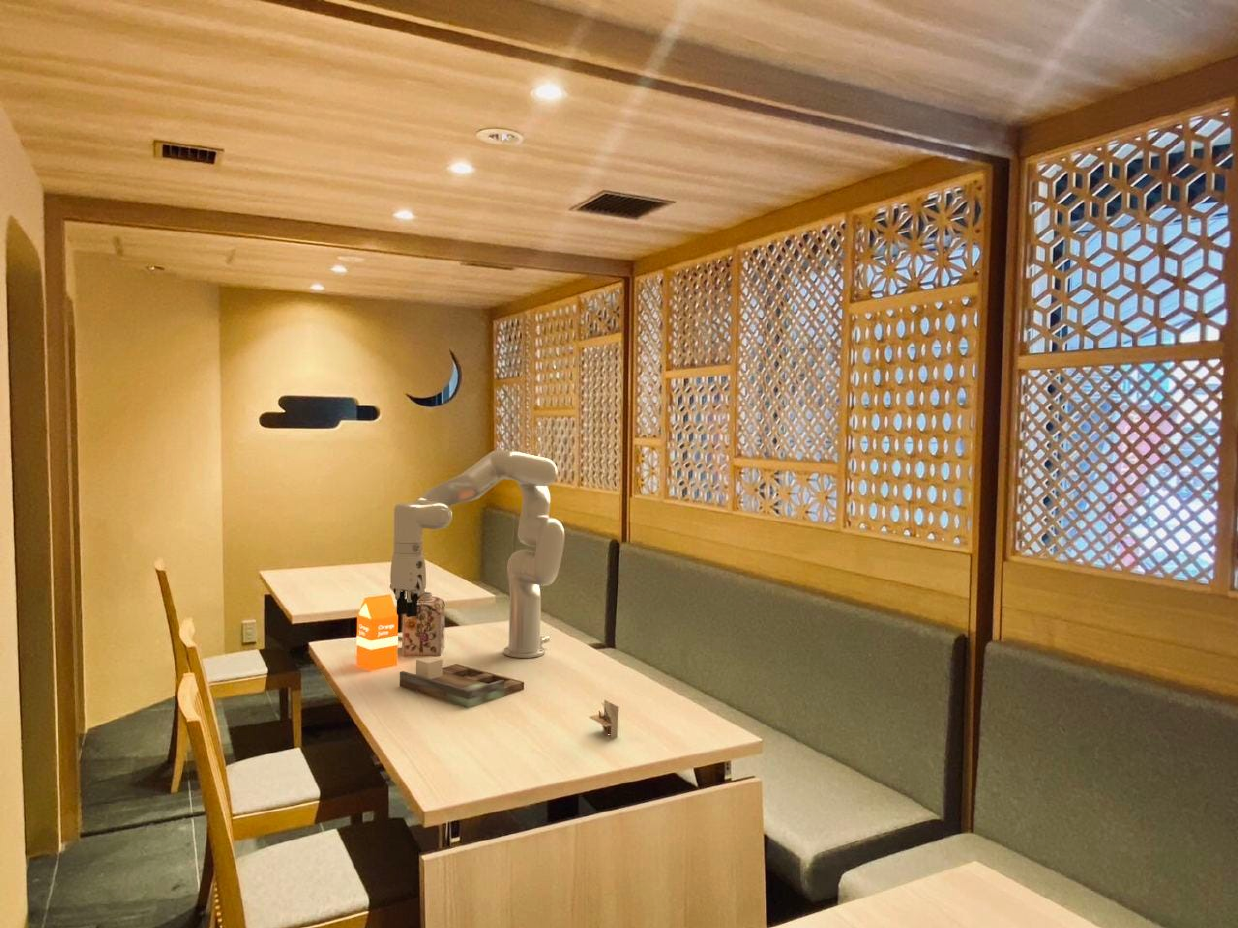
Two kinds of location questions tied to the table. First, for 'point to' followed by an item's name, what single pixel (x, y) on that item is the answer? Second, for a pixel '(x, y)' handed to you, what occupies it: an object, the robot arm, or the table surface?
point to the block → (429, 667)
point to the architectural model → (608, 718)
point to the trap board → (462, 685)
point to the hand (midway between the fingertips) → (406, 614)
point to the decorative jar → (424, 628)
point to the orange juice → (377, 633)
